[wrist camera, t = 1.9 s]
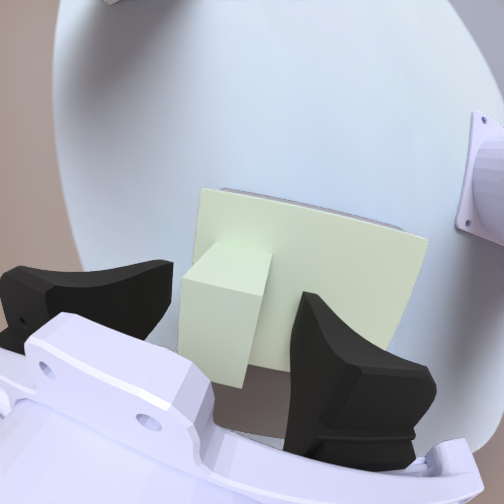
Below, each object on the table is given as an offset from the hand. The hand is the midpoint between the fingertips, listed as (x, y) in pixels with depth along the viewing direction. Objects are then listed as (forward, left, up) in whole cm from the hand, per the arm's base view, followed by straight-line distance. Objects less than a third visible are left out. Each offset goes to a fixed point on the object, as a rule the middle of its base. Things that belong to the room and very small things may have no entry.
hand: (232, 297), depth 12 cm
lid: (-3, 0, -1) cm, 3 cm away
